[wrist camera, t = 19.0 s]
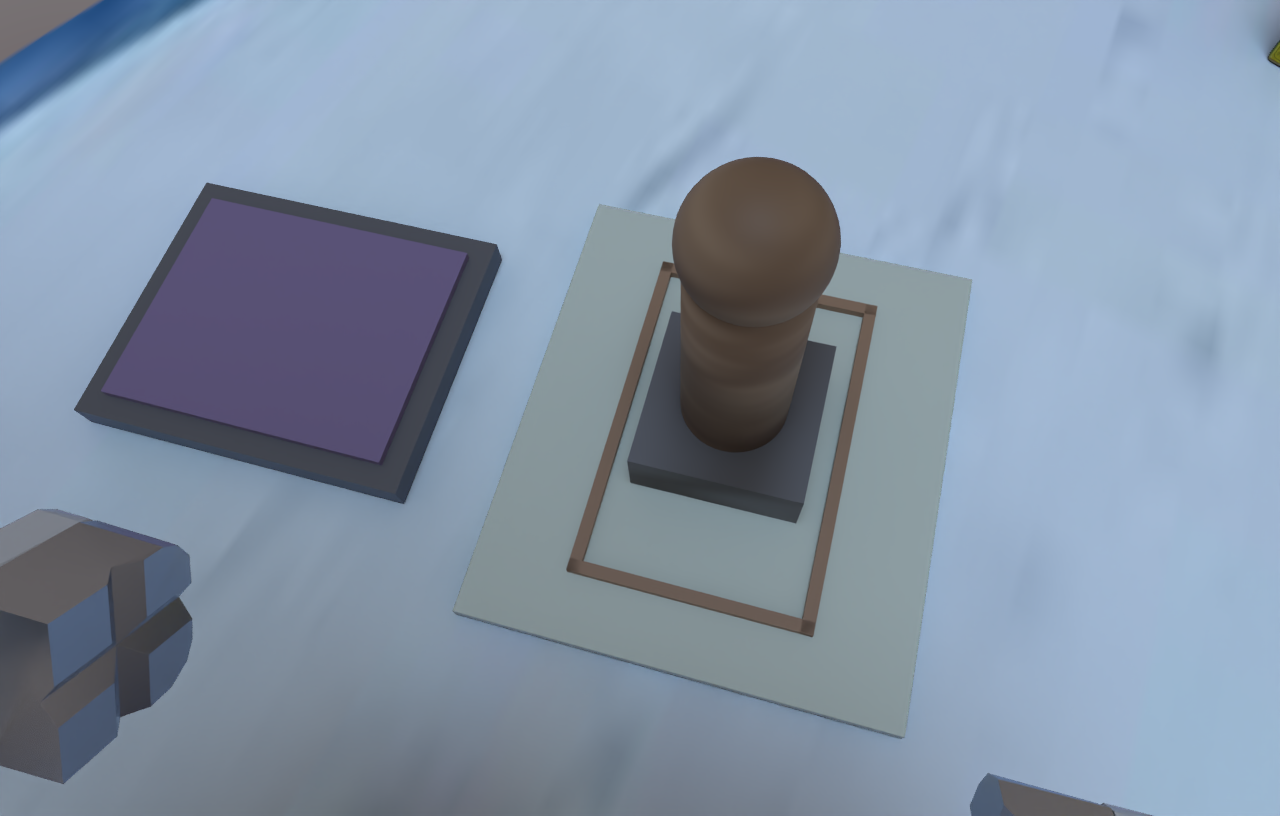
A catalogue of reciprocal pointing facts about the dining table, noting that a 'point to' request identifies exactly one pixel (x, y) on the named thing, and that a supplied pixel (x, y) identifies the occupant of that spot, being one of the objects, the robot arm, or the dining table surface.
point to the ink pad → (297, 340)
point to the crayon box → (1275, 54)
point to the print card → (719, 535)
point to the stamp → (742, 343)
